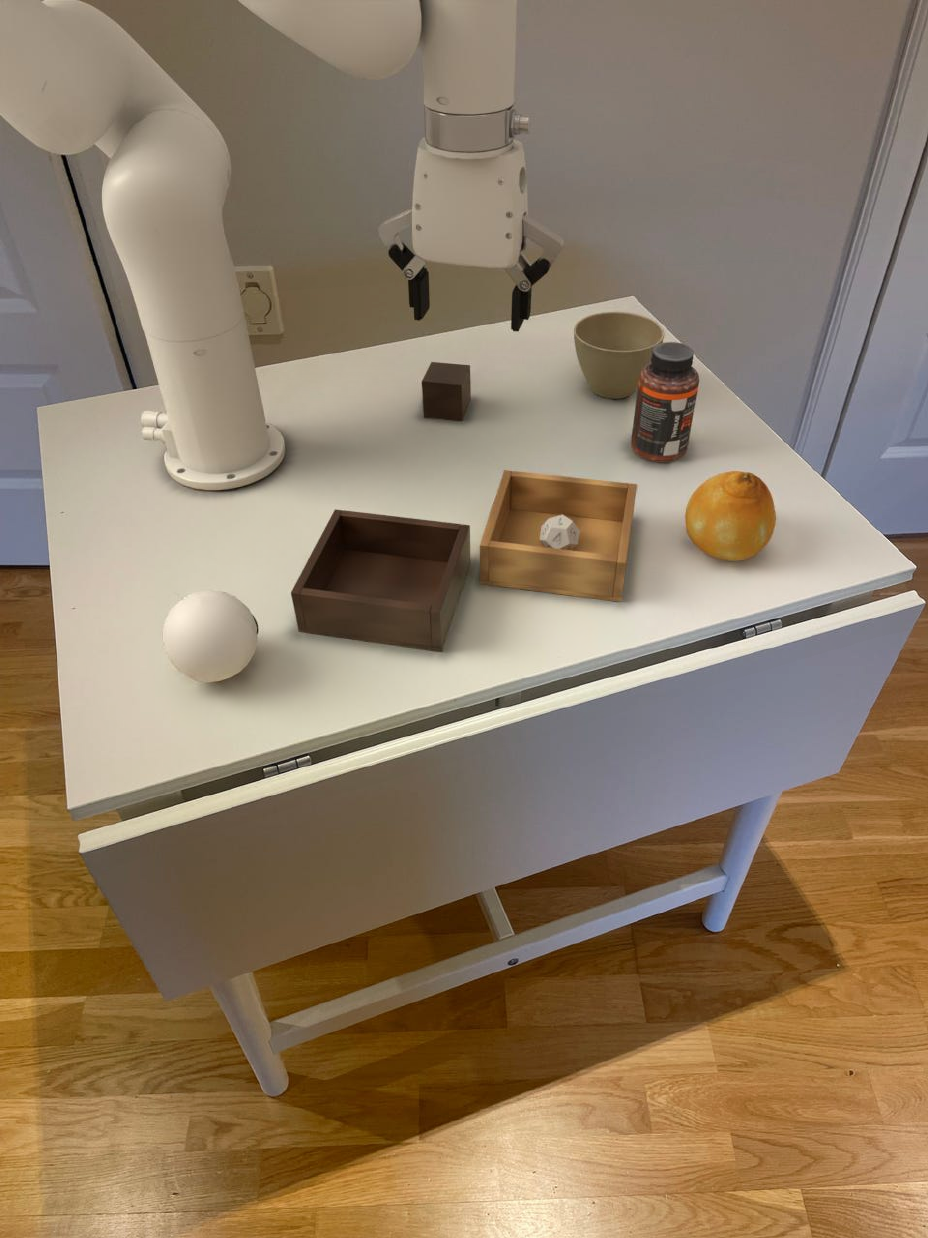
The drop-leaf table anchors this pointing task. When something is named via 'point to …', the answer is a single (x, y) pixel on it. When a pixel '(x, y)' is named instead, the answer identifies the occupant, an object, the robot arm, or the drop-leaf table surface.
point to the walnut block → (446, 391)
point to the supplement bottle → (665, 403)
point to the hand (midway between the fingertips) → (469, 319)
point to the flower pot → (615, 350)
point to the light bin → (531, 566)
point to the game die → (559, 533)
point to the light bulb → (210, 636)
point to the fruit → (731, 516)
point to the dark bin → (383, 580)
